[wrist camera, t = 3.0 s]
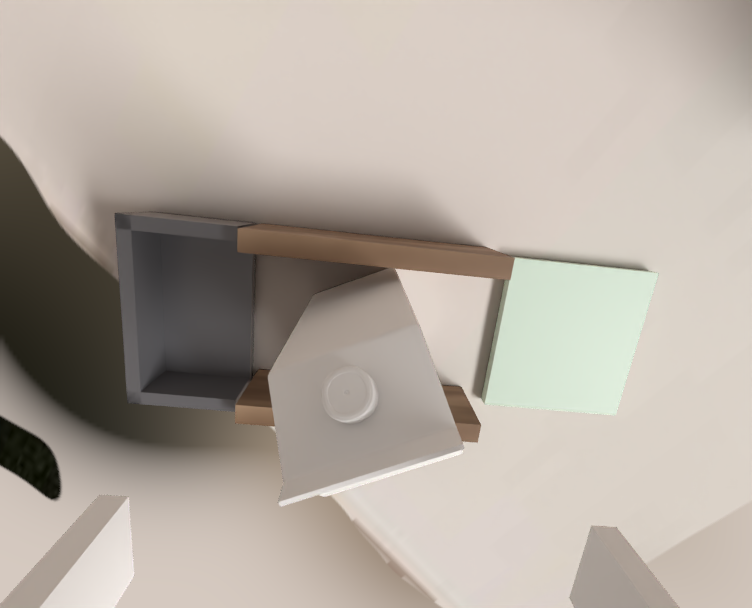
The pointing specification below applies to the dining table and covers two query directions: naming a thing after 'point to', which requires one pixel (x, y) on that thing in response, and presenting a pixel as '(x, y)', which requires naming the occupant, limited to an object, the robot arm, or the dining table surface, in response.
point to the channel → (369, 252)
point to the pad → (566, 336)
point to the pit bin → (185, 309)
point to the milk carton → (357, 392)
